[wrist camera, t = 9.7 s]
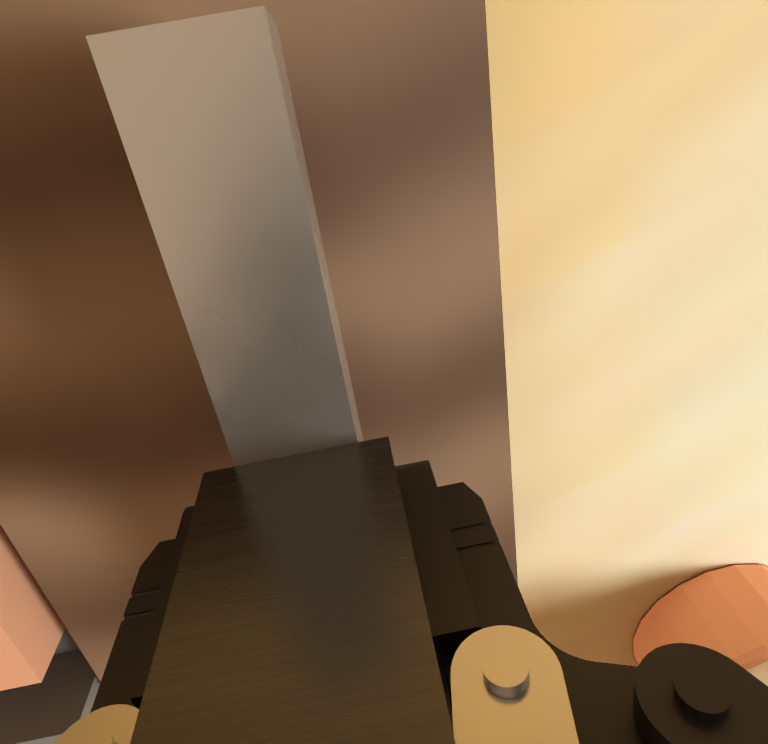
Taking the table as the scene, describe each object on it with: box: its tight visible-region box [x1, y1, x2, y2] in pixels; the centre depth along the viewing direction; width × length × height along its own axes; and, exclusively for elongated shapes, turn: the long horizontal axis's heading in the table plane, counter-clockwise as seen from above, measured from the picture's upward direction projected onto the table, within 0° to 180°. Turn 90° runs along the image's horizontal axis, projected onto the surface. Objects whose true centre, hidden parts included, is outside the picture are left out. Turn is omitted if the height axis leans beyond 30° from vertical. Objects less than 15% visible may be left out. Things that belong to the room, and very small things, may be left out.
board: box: [0, 0, 518, 682], centre depth 15 cm, size 20×14×2 cm
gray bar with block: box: [86, 5, 455, 744], centre depth 9 cm, size 16×3×8 cm, turn 9°
